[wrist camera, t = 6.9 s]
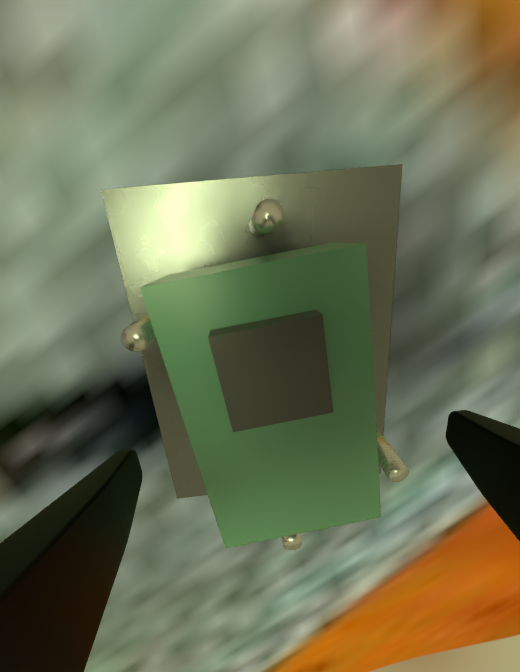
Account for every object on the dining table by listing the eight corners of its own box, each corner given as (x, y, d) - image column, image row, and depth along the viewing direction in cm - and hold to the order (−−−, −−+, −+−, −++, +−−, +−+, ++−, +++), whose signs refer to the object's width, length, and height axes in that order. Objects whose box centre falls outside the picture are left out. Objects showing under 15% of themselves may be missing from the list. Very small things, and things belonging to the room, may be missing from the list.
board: (351, 458, 13) (389, 532, 10) (228, 482, 13) (224, 565, 10) (330, 242, 10) (376, 242, 7) (168, 274, 10) (130, 291, 7)
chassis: (372, 460, 17) (429, 554, 12) (180, 484, 17) (154, 591, 12) (389, 170, 12) (502, 115, 7) (112, 194, 12) (9, 155, 6)
